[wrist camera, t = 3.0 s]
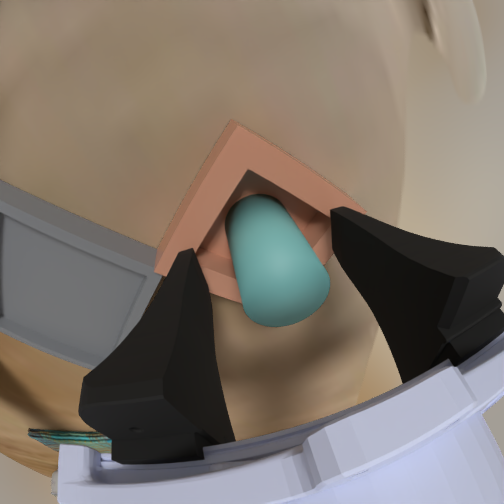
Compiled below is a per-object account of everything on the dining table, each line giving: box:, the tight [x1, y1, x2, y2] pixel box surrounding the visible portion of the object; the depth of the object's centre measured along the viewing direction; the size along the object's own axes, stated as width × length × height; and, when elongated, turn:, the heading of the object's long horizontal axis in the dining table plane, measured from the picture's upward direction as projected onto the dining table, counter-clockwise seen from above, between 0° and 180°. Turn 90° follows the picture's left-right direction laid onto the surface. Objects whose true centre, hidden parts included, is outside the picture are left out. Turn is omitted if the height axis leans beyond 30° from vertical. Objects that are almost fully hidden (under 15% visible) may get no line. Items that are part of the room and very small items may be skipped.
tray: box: [0, 180, 163, 370], centre depth 13 cm, size 10×10×2 cm
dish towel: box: [28, 428, 112, 453], centre depth 29 cm, size 17×23×2 cm
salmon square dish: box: [154, 119, 367, 303], centre depth 13 cm, size 7×7×2 cm
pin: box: [225, 194, 330, 327], centre depth 11 cm, size 3×3×5 cm
